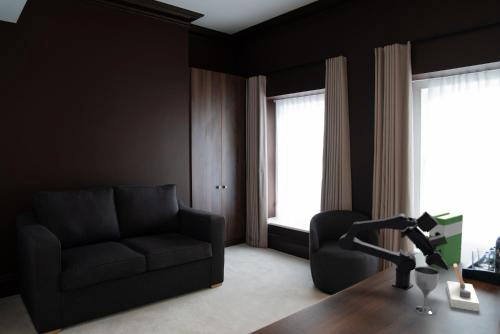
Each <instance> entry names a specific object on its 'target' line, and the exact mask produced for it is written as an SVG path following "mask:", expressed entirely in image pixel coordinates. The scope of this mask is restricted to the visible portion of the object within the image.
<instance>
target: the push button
mask: <svg viewBox="0 0 500 334" xmlns="http://www.w3.org/2000/svg"><path fill="white" fill-rule="evenodd" d="M460 296H462V297H466V298H469V297H471V292H469V291H466V290H460Z"/></svg>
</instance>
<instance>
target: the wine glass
mask: <svg viewBox="0 0 500 334" xmlns="http://www.w3.org/2000/svg"><path fill="white" fill-rule="evenodd" d="M439 277H440V271H439V270H438V269H436V268H433V267H430V266H416V267H415V269H414V281H415V282H414V283H415V284H416V286H417V287H418V289H419V290H420V291H421V293H422V295H423V302H424V303H423V305H418V306H415V307H414V311H415V312H416V313H419V314H422V315H424V316H434V315H436V314H437V311H436V310H435V309H434V308H431V307H429V306H427V301H428V297H429V295H430V294H431V292H433V291H434V290H435V289H436V288H437V286H438V283H439Z"/></svg>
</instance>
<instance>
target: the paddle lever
mask: <svg viewBox="0 0 500 334" xmlns="http://www.w3.org/2000/svg"><path fill="white" fill-rule="evenodd" d="M453 267H454V270H455V274H456V276H457V279H458V281H459V283H460V286H461V288H463V289H464V288H465V284H464V283H465V281H464V280H463V278H462V275H461V272H460V269H459V266H458V263H456V264H454V265H453Z"/></svg>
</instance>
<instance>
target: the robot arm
mask: <svg viewBox="0 0 500 334" xmlns="http://www.w3.org/2000/svg"><path fill="white" fill-rule="evenodd" d="M433 216H434V215H431V214H430V213H428V212H427V210H426V211H424V212H423V213H422V214H421V215H420V216H419V217H418V218H416V217H411V216H408V215H406V214H405V213H397V214H393V215H391V216H390V217H386V218H381V219H373V220H365V221H355V222H353V224H352V225H351V228H350V229H348V232H347V233H345V234H343V235H342V236H341V237H340V238H339V240H338V247H339V249H341V250H343V251H345V252H346V251H348V252H360V253H362V254H366V255H369V256H373V257H375V258H379V259H381V260H383V261H388V262H389V263H390V262H391V263H393V264H394V266H395V282H393V283H391V286H393V287H397V288H400V289H402V290H408V289H410V288H412V287H413V286H414V284H413V283H411V272H412V271H415V268H416V267H417V260H416V257H415V255H413V253H411V252H410V251H406V250H404V249H402V248H401V249H399V251H392V250H390V249H385V248H383V247H379V246H376V245H373V244H370V243H367V242H364V241H362V240H360V239H358V238H357V235H358V234H359V233H360V232H367V231H368V232H369V231H376V230H384V229H388V230H393V231H394V230H395V231H397V230H398V231H400V239H403V238H405V237H406V238H407V239H408V240H409V241H411V243H412V244H413V245H414V246H415V248H416V249H417V250H419V251H420V252H421V253H422V256H423V257H424V261H425V264H426V265H427V267H430V266H431V265H432V264H434V265H437V266H439V267H441V268H443V269H442V270H446V271H448V270H449V269H450V268H449V267H450V266H449V267H448V266H447V264H446V263H445V261H444V259H443V258H442V253H441V249H440V250H438V251H437V250H435V249H436V248H437V246H438V247H439V246H440V245H443V244H444V245H445V244H447V243H448V242H447V239H446V237H445V235H444V234H443V233H442V234H441V233H439V232H435V236H433V237H431V238H429V235H425V234H424V233H429V231H430V230H432V229H433V228H434V227H436V226H437V225H438V224H439V223H438V222H437V220H436V219H435V218H434V217H433ZM431 267H432V266H431ZM441 268H440V269H441Z"/></svg>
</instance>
